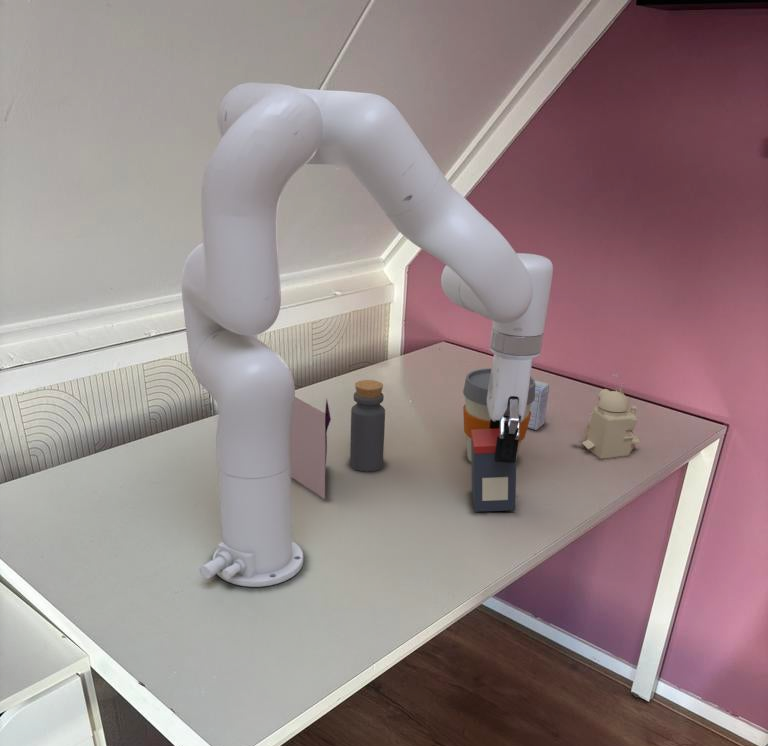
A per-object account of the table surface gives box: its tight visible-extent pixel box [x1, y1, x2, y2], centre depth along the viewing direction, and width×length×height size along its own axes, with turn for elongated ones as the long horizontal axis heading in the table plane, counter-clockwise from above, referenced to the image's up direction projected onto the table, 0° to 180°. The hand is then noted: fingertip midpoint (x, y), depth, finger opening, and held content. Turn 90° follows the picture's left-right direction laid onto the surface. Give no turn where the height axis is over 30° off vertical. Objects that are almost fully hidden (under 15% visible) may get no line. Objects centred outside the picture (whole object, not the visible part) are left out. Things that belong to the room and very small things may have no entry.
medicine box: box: [527, 380, 550, 431], centre depth 160 cm, size 8×4×9 cm, turn 58°
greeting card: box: [290, 396, 332, 500], centre depth 132 cm, size 11×7×15 cm, turn 3°
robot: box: [578, 373, 641, 459], centre depth 149 cm, size 10×8×15 cm
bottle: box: [349, 379, 386, 472], centre depth 139 cm, size 6×6×15 cm
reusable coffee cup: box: [462, 367, 536, 463], centre depth 144 cm, size 12×13×15 cm
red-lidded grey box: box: [471, 428, 519, 513], centre depth 128 cm, size 12×7×7 cm
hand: (501, 448), depth 126 cm, fingers open, 9 cm apart
